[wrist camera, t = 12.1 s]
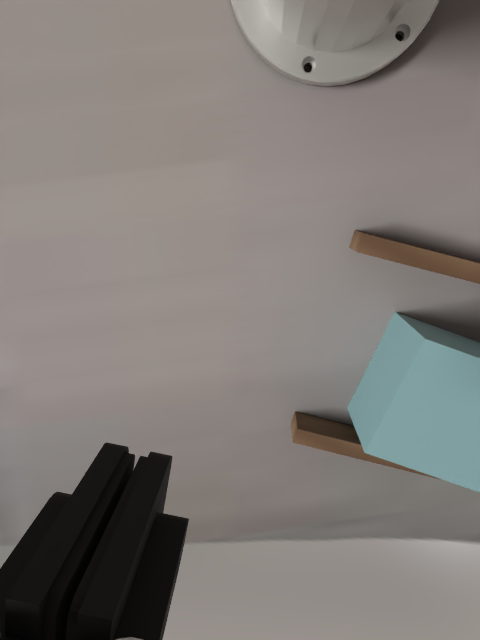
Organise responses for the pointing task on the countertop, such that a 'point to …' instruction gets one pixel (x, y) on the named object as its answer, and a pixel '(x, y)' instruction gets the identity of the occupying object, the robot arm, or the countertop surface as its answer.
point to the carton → (422, 402)
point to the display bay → (342, 435)
